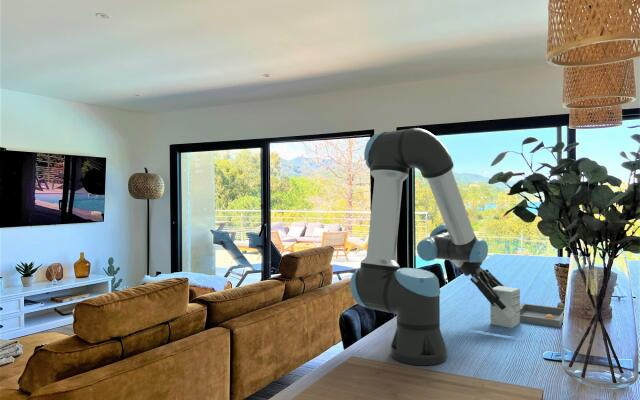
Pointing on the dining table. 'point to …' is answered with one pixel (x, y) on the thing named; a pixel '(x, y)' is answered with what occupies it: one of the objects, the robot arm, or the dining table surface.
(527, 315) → the tray
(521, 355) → the dining table surface
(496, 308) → the supplement box
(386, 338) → the dining table surface
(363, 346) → the dining table surface
